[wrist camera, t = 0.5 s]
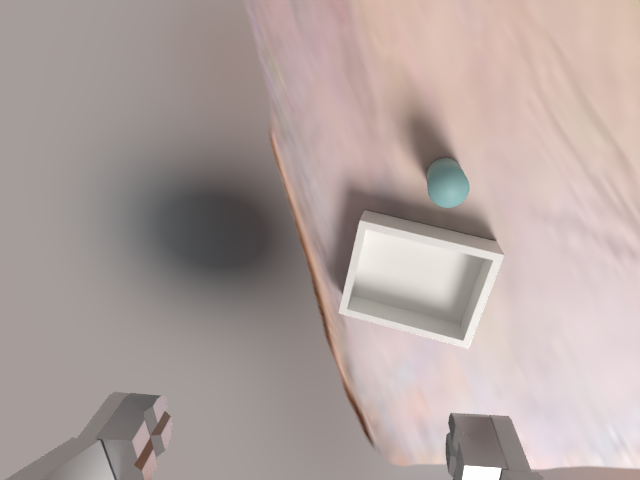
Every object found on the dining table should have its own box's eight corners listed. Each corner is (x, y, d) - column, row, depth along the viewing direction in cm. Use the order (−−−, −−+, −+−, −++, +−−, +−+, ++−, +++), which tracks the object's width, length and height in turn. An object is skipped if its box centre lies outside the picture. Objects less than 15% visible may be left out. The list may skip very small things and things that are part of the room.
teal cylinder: (431, 154, 53) (434, 164, 45) (466, 161, 52) (474, 173, 45) (422, 187, 54) (423, 202, 47) (456, 194, 54) (462, 211, 46)
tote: (364, 209, 57) (359, 220, 52) (497, 241, 55) (504, 255, 50) (344, 296, 62) (338, 313, 58) (464, 329, 60) (468, 349, 55)
